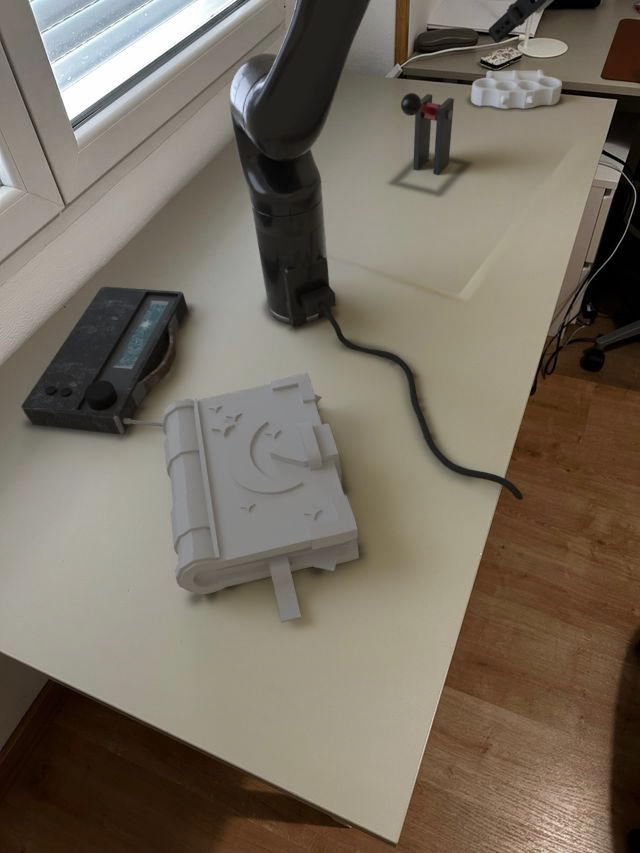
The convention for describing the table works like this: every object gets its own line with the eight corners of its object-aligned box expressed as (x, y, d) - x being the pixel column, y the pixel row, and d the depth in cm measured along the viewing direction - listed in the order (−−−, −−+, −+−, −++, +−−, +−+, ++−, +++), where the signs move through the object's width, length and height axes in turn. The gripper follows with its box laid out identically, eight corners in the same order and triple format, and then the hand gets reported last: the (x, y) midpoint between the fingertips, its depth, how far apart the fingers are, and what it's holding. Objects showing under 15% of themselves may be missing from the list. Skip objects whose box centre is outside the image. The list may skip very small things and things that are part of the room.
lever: (413, 115, 101) (418, 93, 99) (395, 112, 102) (400, 90, 101) (443, 124, 111) (448, 104, 110) (426, 121, 113) (431, 101, 111)
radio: (99, 279, 96) (226, 288, 93) (108, 302, 100) (231, 311, 96) (15, 401, 80) (165, 417, 77) (29, 424, 84) (174, 440, 80)
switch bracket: (438, 194, 113) (443, 120, 104) (393, 183, 117) (394, 111, 107) (467, 163, 120) (474, 91, 110) (423, 154, 123) (426, 83, 114)
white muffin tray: (555, 82, 140) (561, 111, 131) (470, 83, 143) (470, 112, 133) (558, 65, 138) (565, 94, 128) (472, 67, 140) (472, 95, 131)
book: (190, 649, 62) (170, 615, 56) (168, 436, 80) (152, 394, 75) (382, 601, 64) (382, 563, 58) (319, 403, 82) (314, 359, 77)
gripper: (616, -120, 77) (505, -12, 90) (577, -91, 69) (462, 22, 83) (649, -62, 78) (535, 35, 92) (614, -28, 71) (496, 73, 85)
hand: (501, 29), depth 88 cm, fingers open, 5 cm apart
